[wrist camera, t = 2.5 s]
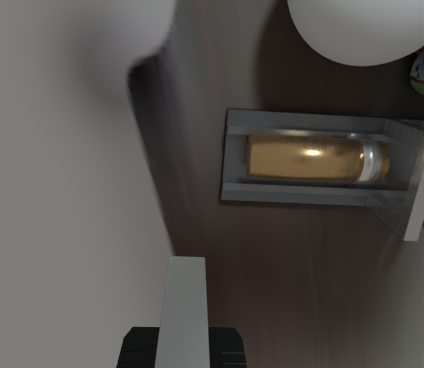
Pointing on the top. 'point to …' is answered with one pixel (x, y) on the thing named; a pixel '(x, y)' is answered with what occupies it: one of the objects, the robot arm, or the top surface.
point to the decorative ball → (360, 28)
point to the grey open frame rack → (312, 127)
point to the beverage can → (417, 71)
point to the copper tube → (316, 158)
